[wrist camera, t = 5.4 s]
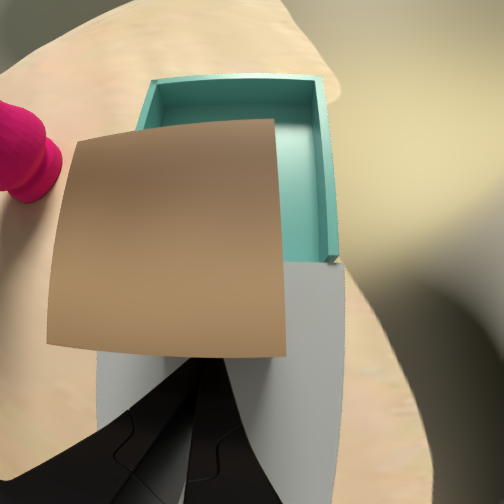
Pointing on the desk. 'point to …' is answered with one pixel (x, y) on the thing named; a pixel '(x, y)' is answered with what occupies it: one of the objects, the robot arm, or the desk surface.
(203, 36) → the desk surface
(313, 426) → the plate
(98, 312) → the brick
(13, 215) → the desk surface
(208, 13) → the desk surface
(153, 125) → the tray
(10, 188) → the pepper mill
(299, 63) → the desk surface
